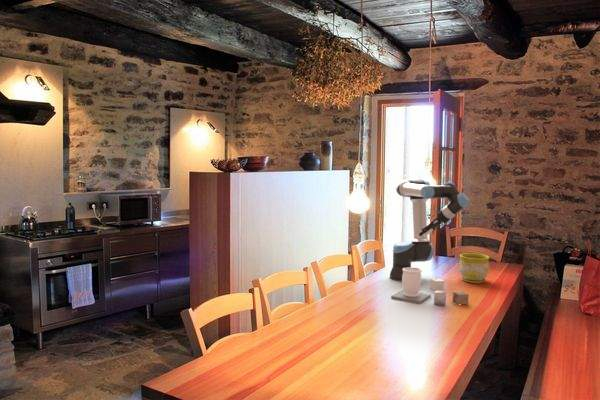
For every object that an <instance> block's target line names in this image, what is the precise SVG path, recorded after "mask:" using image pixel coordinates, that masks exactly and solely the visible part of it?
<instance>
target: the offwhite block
mask: <svg viewBox="0 0 600 400" xmlns="http://www.w3.org/2000/svg"><path fill="white" fill-rule="evenodd" d="M429 288H430V289H431V290H432V291H433V292H435V291H436V290H441V291H445V280H443V279H442V278H439V277H438V278H430V287H429Z"/></svg>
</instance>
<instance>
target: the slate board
mask: <svg viewBox="0 0 600 400" xmlns="http://www.w3.org/2000/svg"><path fill="white" fill-rule="evenodd" d="M418 294H419V296H417V297H408V296H405V295H404V290H403V289H401V290H400V291H398V292H396V293H394V294H393V295H391V296H390V298H391V299H392V300H397V301H403V302H408V303H414V304H419V305H420V304H423V303H424V302H425V301H427V300H428V299H429V298H431V296H432V295H431V294H430V293H425V292H424V293H423V292H420V291H419V292H418Z"/></svg>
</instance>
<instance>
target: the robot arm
mask: <svg viewBox="0 0 600 400" xmlns="http://www.w3.org/2000/svg"><path fill="white" fill-rule="evenodd" d="M395 190H396V191H395V192H396V193H397V194H398V196H401V197H404V198H409V200H410V202H411V203H412V221H413V224H412V225H413V239H412V240H411V242H410V241H399V242H396V243H395V244H393V249H392V268H391V270H390V273H389V278H390V279H391V280H393V281H398V282H402V275H403V268H407V267H412V263H417V262H418V263H420V262H429V261H431V260H432V258H433V257H434V253H435V248H434V245H433V244H432V243H431V241H430V239H428V235H430V234H431V233H432V232H433V231H434V232H435V231H436V230H437V228H438V227H439V225H441V224H447V223H448V222H449V221H451V219H452V218H456V215H457V214H458V213H459V212H461V211H462V210H464V209H465V208H466V207H467V206H468V205H469V204H470V199H469V197H468V195H466V194H465V193H464V192H460V191H459V189H458V187H457V186H456V184H455V183H454V182H452V181H446V182H444V183H443V184H441V185H431V183H430V182H429V181H428V180H427V179H425V178H424V179H421V178H419V179H415V178H413V179H412V178H411V179H402V180H400V181H399V182H398V183H397V184H396V187H395ZM429 199H431V200H432V199H447V200H448V203H447V204H446V205H445V206H444V207H443V208H441V209H440V210H439V211H438V212H437V214H436V216H437V217H436V218H434V220H432V221H431V222H430V223H429V224H428V221H427V220H428V219H427V201H428V200H429ZM427 224H428V225H427Z"/></svg>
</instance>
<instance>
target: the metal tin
mask: <svg viewBox="0 0 600 400" xmlns="http://www.w3.org/2000/svg"><path fill="white" fill-rule="evenodd" d="M433 292H434V293H433V294H434V295H433V296H434V297H433V298H434V299H433V304H434V305H435V306H438V307H445V306H446V300H447V292H446V291H445V290H444V291H441V290H436V291H433Z"/></svg>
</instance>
